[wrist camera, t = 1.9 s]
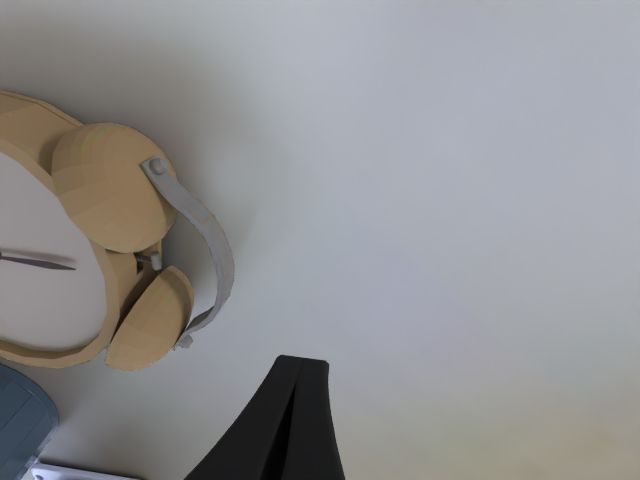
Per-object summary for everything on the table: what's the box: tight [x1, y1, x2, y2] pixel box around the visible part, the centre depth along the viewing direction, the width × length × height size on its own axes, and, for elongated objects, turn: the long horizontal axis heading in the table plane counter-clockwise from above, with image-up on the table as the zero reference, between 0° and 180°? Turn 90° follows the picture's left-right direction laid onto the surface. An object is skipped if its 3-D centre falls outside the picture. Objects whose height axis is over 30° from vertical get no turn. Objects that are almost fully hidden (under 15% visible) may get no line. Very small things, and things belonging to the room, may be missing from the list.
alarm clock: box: [0, 90, 234, 371], centre depth 18 cm, size 11×5×15 cm
